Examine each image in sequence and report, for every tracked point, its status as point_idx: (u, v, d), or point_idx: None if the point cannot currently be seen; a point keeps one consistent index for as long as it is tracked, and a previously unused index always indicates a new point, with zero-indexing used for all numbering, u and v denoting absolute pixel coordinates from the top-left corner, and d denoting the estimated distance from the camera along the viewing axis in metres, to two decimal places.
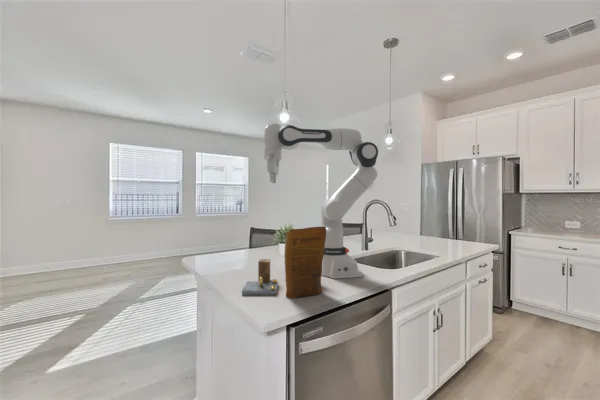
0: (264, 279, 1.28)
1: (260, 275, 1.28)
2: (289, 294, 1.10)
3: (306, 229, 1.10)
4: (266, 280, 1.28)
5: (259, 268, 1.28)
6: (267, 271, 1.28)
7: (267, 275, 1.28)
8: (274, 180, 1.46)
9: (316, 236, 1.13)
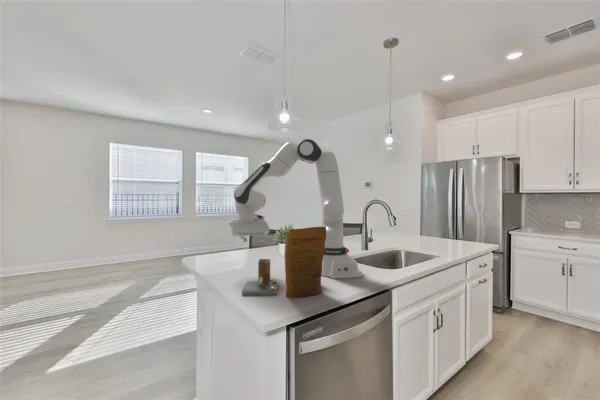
0: (264, 279, 1.28)
1: (260, 275, 1.28)
2: (289, 294, 1.10)
3: (306, 229, 1.10)
4: (266, 280, 1.28)
5: (259, 268, 1.28)
6: (267, 271, 1.28)
7: (267, 275, 1.28)
8: (260, 238, 1.43)
9: (316, 236, 1.13)
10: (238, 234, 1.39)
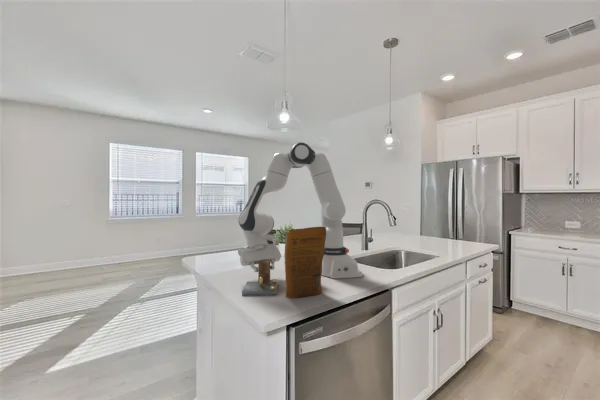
0: (264, 279, 1.28)
1: (260, 275, 1.28)
2: (289, 294, 1.10)
3: (306, 229, 1.10)
4: (266, 280, 1.28)
5: (259, 268, 1.28)
6: (267, 271, 1.28)
7: (267, 275, 1.28)
8: (270, 266, 1.32)
9: (316, 236, 1.13)
10: (247, 263, 1.29)
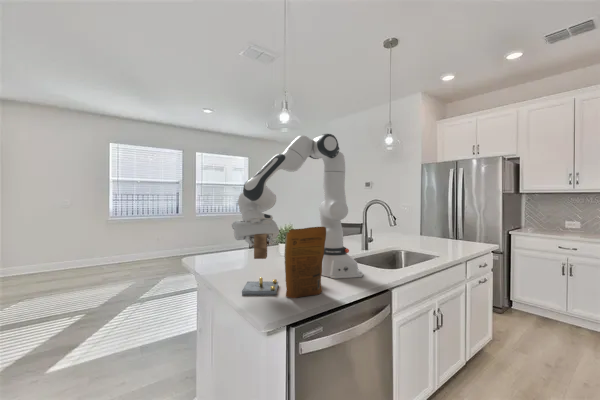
0: (260, 254, 1.16)
1: (256, 250, 1.16)
2: (289, 294, 1.10)
3: (306, 229, 1.10)
4: (263, 255, 1.16)
5: (255, 242, 1.16)
6: (264, 246, 1.16)
7: (264, 250, 1.16)
8: (268, 241, 1.20)
9: (316, 236, 1.13)
10: (242, 237, 1.17)
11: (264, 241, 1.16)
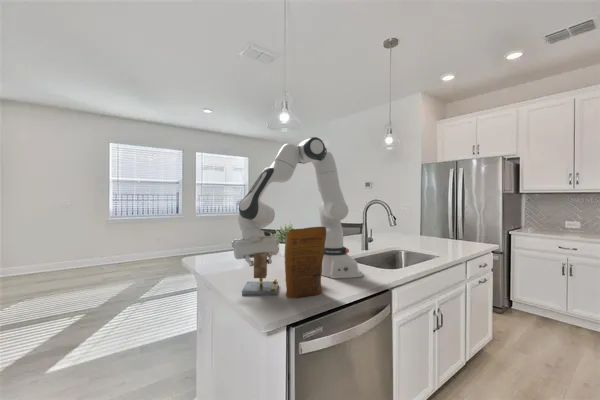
0: (260, 274, 1.16)
1: (256, 269, 1.16)
2: (289, 294, 1.10)
3: (306, 229, 1.10)
4: (263, 275, 1.16)
5: (255, 262, 1.16)
6: (263, 265, 1.16)
7: (263, 270, 1.16)
8: (267, 260, 1.20)
9: (316, 236, 1.13)
10: (242, 257, 1.17)
11: (264, 260, 1.16)
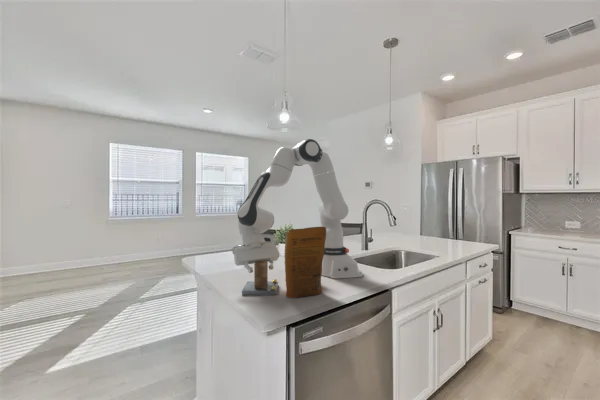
0: (261, 283, 1.16)
1: (256, 279, 1.16)
2: (289, 294, 1.10)
3: (306, 229, 1.10)
4: (263, 284, 1.16)
5: (255, 271, 1.16)
6: (264, 275, 1.16)
7: (264, 279, 1.16)
8: (269, 266, 1.20)
9: (316, 236, 1.13)
10: (242, 263, 1.17)
11: (264, 270, 1.16)
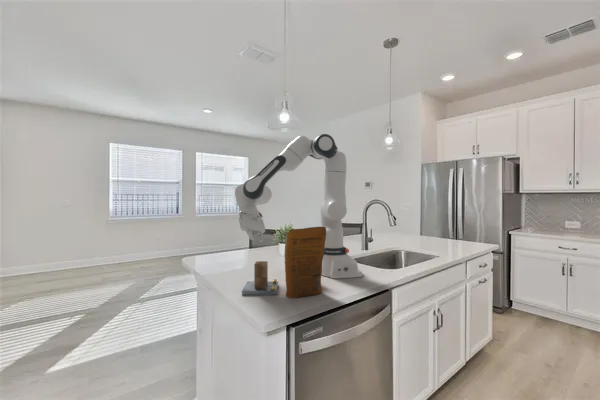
0: (261, 283, 1.16)
1: (256, 279, 1.16)
2: (289, 294, 1.10)
3: (306, 229, 1.10)
4: (263, 284, 1.16)
5: (255, 271, 1.16)
6: (264, 275, 1.16)
7: (264, 279, 1.16)
8: (260, 238, 1.37)
9: (316, 236, 1.13)
10: (247, 229, 1.28)
11: (264, 270, 1.16)
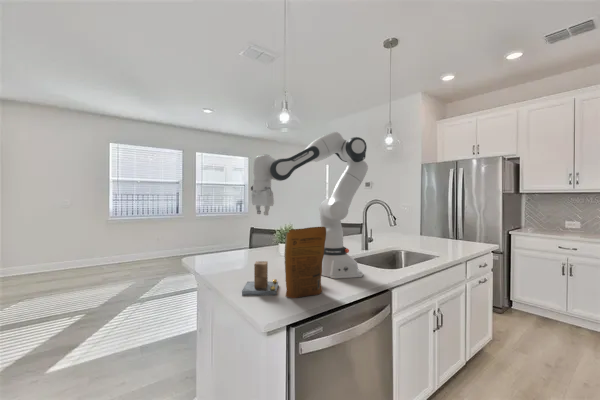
0: (261, 283, 1.16)
1: (256, 279, 1.16)
2: (289, 294, 1.10)
3: (306, 229, 1.10)
4: (263, 284, 1.16)
5: (255, 271, 1.16)
6: (264, 275, 1.16)
7: (264, 279, 1.16)
8: (260, 211, 1.41)
9: (316, 236, 1.13)
10: (268, 206, 1.31)
11: (264, 270, 1.16)
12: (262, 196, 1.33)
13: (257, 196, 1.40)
